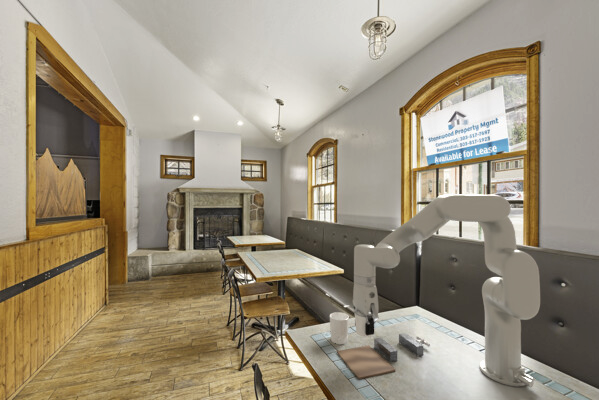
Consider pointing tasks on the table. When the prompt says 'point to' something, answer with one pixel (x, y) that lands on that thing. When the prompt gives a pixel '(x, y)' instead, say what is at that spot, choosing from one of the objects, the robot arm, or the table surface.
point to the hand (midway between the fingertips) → (364, 329)
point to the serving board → (365, 362)
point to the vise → (404, 340)
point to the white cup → (339, 327)
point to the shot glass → (360, 322)
